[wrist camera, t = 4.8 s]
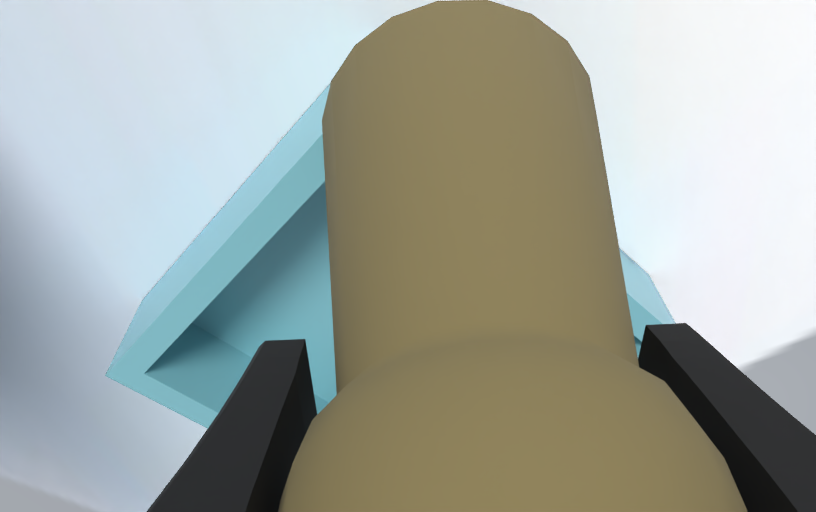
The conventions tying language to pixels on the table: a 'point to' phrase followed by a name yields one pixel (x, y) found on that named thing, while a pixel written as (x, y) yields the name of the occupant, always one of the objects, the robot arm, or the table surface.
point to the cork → (484, 290)
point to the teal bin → (265, 288)
